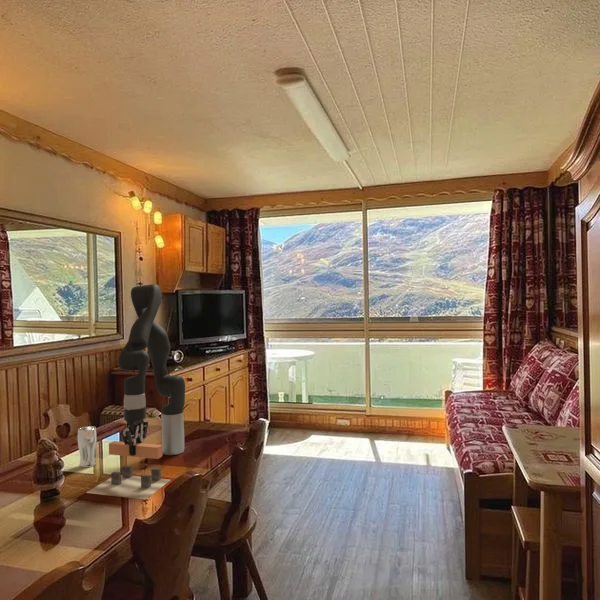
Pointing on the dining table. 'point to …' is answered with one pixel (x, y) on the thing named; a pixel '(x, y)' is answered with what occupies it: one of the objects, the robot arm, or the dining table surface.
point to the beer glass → (87, 446)
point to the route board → (131, 484)
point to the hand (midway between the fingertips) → (135, 453)
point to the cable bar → (141, 450)
